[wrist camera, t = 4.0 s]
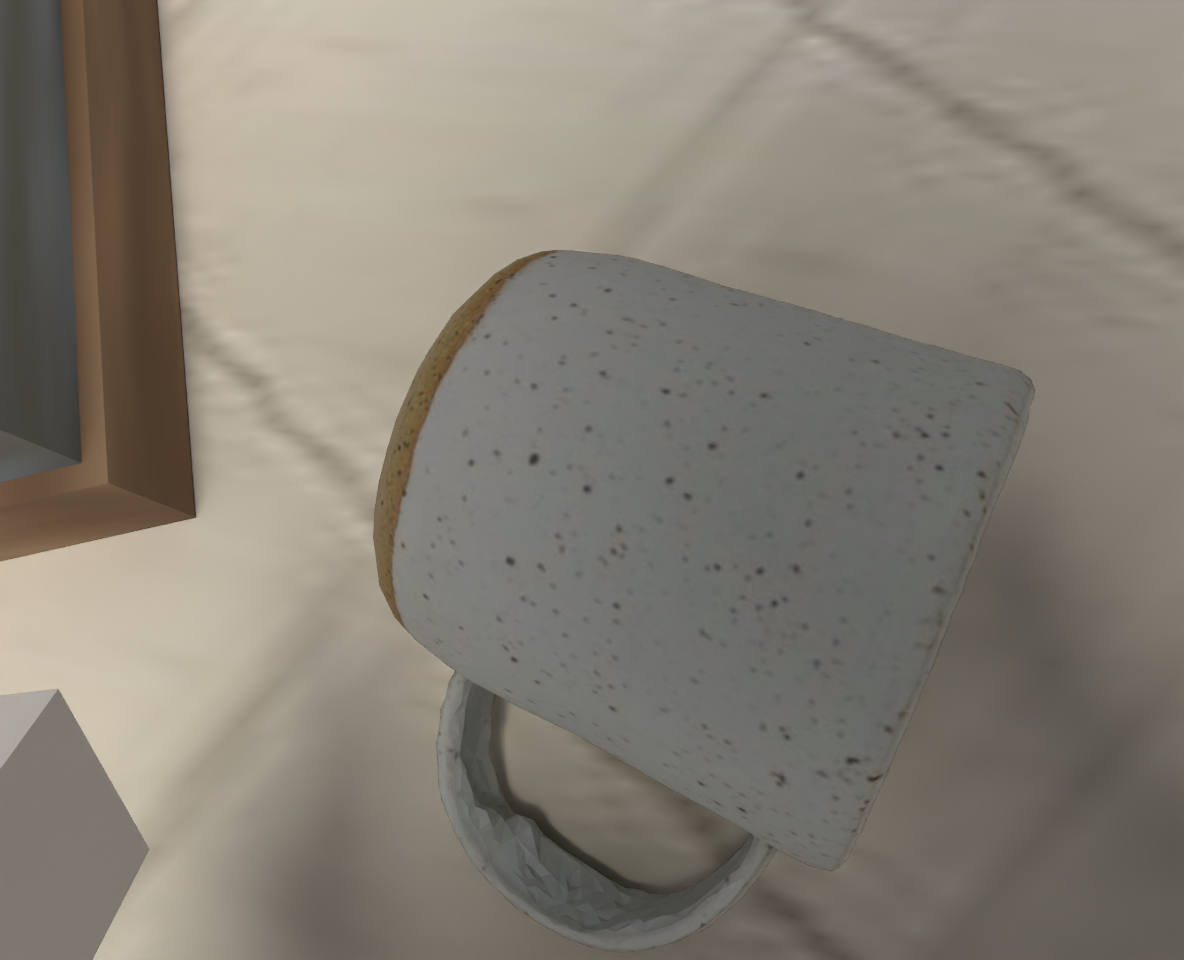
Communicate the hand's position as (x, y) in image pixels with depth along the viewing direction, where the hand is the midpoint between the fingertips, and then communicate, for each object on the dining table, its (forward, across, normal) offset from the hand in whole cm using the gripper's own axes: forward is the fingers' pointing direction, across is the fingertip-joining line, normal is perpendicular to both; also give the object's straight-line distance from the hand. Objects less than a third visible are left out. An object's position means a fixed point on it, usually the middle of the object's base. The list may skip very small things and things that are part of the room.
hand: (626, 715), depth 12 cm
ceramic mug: (+7, 0, -4) cm, 8 cm away
